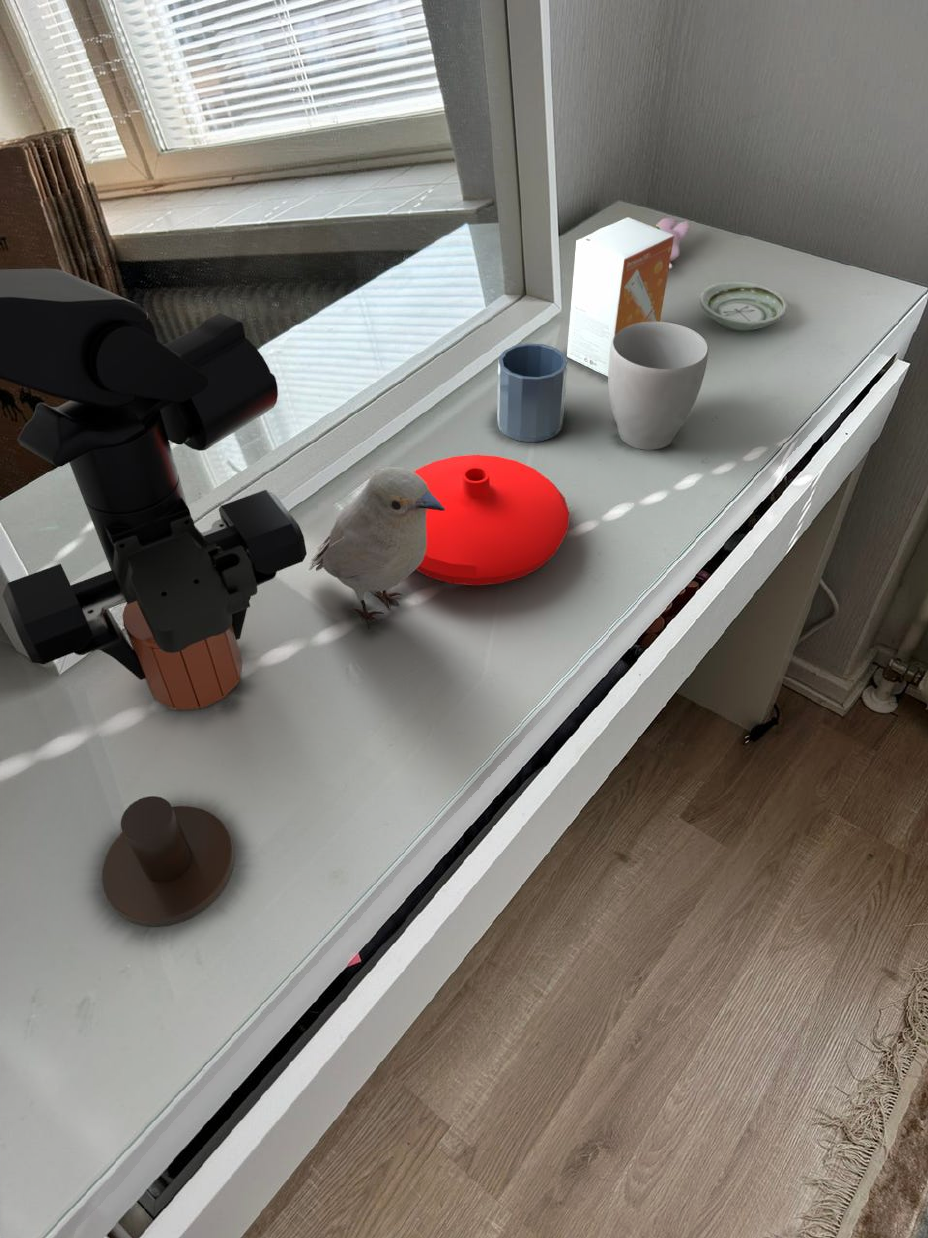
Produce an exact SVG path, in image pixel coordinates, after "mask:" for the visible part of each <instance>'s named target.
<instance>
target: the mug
mask: <svg viewBox="0 0 928 1238" xmlns="http://www.w3.org/2000/svg"><path fill="white" fill-rule="evenodd" d="M708 359H709V346H708V343H707V341H706V340H705V339H704V338H703V337H702V335H701V334H699V333H698V332H697V331H695V330H693V329H691V328H689V327H687V326H684V325H681V324H677V323H673V322H667V321H660V322H641V323H636V324H632V325H629V326H627V327H625V328H623V329H621V330H620V331H619V332H618V333H617V334H616V335H615V336H614V337H613V339H612V342H611V347H610V355H609V369H608V377H607V382H608V384H607V385H608V386H607V387H608V396H609V403H610V407H611V411H612V415H613V419H614V421H615V424H616V427H617V430H618V436H619V438H620V439H621V440H622V441H623V442H624V443H625V444H627V445H628V446H630V447H633V448H636V449H641V450H646V451H649V450H653V451H654V450H658V449H663V448H665V447H667V446H668V445H670V444H671V443H672V442H673V439H674V437H675V436H676V434H677V432H678V431H679V430H680V429H681V427H682V426H683V425H684V423H685V422H686V420H687V419H688V418H689V415H690V414H691V412H692V410H693V408H694V405H695V403H696V401H697V398H698V396H699V393H700V391H701V387H702V384H703V381H704V377H705V373H706V369H707V364H708Z"/></svg>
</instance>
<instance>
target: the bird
mask: <svg viewBox="0 0 928 1238" xmlns="http://www.w3.org/2000/svg"><path fill="white" fill-rule="evenodd" d="M427 509H433V510H440V511H442V510H443V511H444V510H445V509H444V507H443V506H442V505H441V504H440V502H439V501H438V500H437V499H436V498H435V497H434V496H433V494H432V493H431V492H430V490H429V489H428V486H427V484H426V482H425V481H424V480H423V479H422V478H421V477H420V476H418V475H417V474H416V473H415V472H414V471H413V470H411V469H408V468H405V467H395V466H388V467H384V468H381V469H377V470H376V471H375V472H374V473H373V474H372V475H371V477H370V478H369V480H368V482H367V483H366V485H365V486H364V487H363V488H362V490H361V491H360V492H359V493H358V495H357V496H356V497H354V499H352V500H351V501H350V502H349V503H348V504H346V505H345V506H344V508H343V509H342V510H341V511H340V512H339V514H338V515H337V517H336V519H335V522H334V523H333V526H332V527H331V529H330V533H329V536H327V538H325V540H324V542H323V543H322V544H320V546H318V547H317V552H316V553H315V555H314V556H313V557H312V559H310V561H311V562H310V563H309V564H310V566H309V568H308V570H309V571H311V570H312V569H313V568H314V567H315V571H316V572H317V571H320V570H321V569H324V570H325V571H326V572H327V573H328V574H329V575H331V576H333V577H334V578H337V579H338V580H339V581H340V582H341V583H342V584H343V585H344V586H347V587H348V588H350V589H352V590H353V591H354V593H355V595H356V598H357V600H358V601H359V602H360V604H361V606H362V610H361V609H359V608H357V607H356V608H355V607H353V608H350V610H352V611H355V612H356V613H357V614H359V617H360V619H361V620H363V621H364V622H365V624H366V626H367V628H368V630H371V624H370V620H371V621H375V622H376V623H378V624H379V625H380V624H381V623H380V621H379V620H378V619H377V618H376V617H375V616H374V615H378V614H381V615H384V614H385V613H384V612H382V611H378V610H373V611H367V605H366V601H365V599H364V597H365V593H366V592H371V593H375V594H377V595H378V596H379V599H380V600H381V601H382V602H384V604H385V605H386V607H387V609H388V610H389V611H390V610H391V609H390V607H391V606H390V602H389V601H391V602H394V603H396V604H397V605H399V606H400V603H399V601H398V600H397V599H396V598H394V597H395V596H403V594H402V593H400V592H395V591H394V592H389V593H388V592H387V590H390V589H392V588H394V587H396V586H398V584H400V583H401V582H402V581H404V580H405V579H406V578H408V577H409V576H410V575H411V574H412V573H413V572H414V571H416V570H415V569H416V568H417V567H418V566H419V565H420V564H421V562H422V561H423V558H424V556H425V553H426V547H427V534H426V512H427Z"/></svg>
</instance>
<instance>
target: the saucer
mask: <svg viewBox="0 0 928 1238" xmlns="http://www.w3.org/2000/svg"><path fill="white" fill-rule="evenodd" d="M699 296H700V297H699V304H700V307H701V309H702V310H703V311H704V312H705V313H706V314H707V315H708V316H709V317H710V318H711V319H712V320H713V321H715V322H716V323H718V324H719V325H721V326H723V327H725V328H727V329H729V330H734V331H739V332H747V331H753V330H757V329H761V328H765V327H768V326H770V325H772V324H775V323H776V322H779V321H780V320H781V319H782V318H783V317H784V316H785V315H786V314H787V310H788V304H787V301H786V300H785V298H784V297H783V296H782V295H781V294H780V293H778V292H777V291H775V290H774V289H772V288H769V287H766V286H764V285H760V284H756V283H753V282H746V281H725V282H719V283H715V284H712V285H710V286H708V287H706V288H705V289H704V290H703V291H702V292H701V294H700V295H699Z"/></svg>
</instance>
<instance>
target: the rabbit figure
mask: <svg viewBox="0 0 928 1238" xmlns="http://www.w3.org/2000/svg"><path fill="white" fill-rule="evenodd" d="M677 222H678V220H677V219H675V218H673V217H665V218H662V219H660V220H659V221H658V222H657V223H656V225H654V227H655V228H657V229H660V230H662V231H665V232H667V233H670V234H672V235H674V239H673V246H672V252H671V258H670V264H669V270H671V269H672V268H673V264H672V263H671V262H673V261H675V260H676V259H677V258H679V256H680V254H681V253H680V242H681V241H682V240H683V239H685V237H687V235H688V233H689V230H690V228H691V223H690V221H681V222H679V223H678V224H676V223H677Z"/></svg>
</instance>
